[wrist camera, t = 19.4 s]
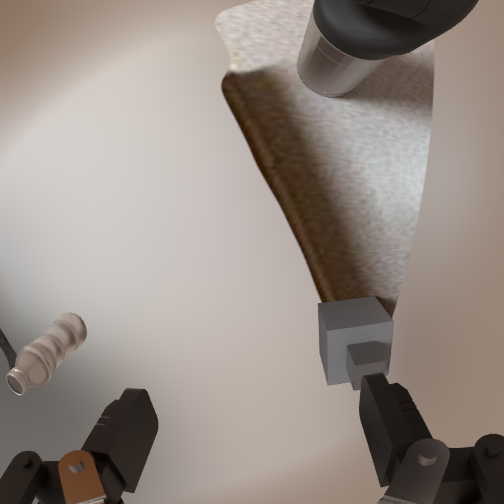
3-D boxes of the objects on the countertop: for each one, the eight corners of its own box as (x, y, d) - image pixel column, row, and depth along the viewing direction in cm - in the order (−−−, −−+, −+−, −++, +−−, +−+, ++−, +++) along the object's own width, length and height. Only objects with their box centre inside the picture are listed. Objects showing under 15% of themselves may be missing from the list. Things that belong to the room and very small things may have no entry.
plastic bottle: (90, 314, 51) (26, 376, 32) (91, 345, 53) (35, 410, 33) (62, 304, 51) (-5, 357, 31) (63, 334, 53) (4, 392, 33)
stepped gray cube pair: (317, 303, 48) (334, 351, 35) (374, 295, 48) (407, 339, 34) (319, 353, 51) (333, 407, 37) (372, 345, 50) (398, 395, 37)
